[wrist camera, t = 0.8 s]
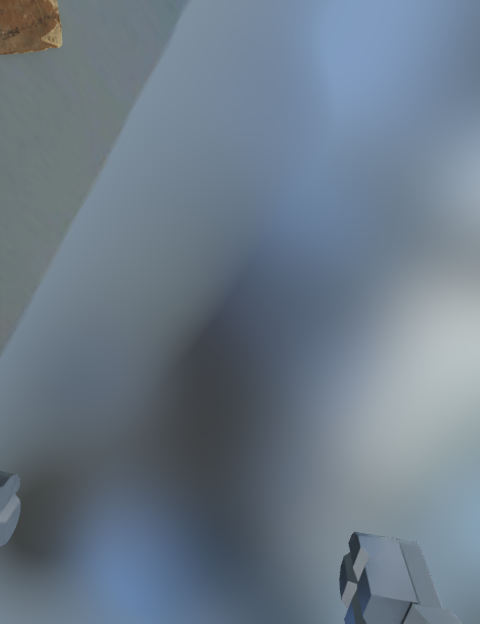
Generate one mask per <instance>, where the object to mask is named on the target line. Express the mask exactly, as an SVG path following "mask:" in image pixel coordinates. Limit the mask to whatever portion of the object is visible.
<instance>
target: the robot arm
mask: <svg viewBox="0 0 480 624" xmlns="http://www.w3.org/2000/svg"><path fill="white" fill-rule="evenodd" d="M19 487H20V484H19V476H18V475H16V474H12V473H6V472H2V471H0V546H2V545H4V544H5V543H7V542H8V540H9V538H10V537H11V535H12V533H13V532H14V529H15V527H16V524H17V522H18V519H19V514H20V500H19V499H18V497H17V496H16V495H15V493H16V491H17V490H18V489H19ZM349 548H350V553H348V554H347V555H345V556H344V557H343V561H342V564H341V569H340V578H339V583H340V594H341V600H342V601H343V603H344V604H345V605H346V606H347V608H348V610H347V613H346V616H345V618H344V621H345V624H463V623H462V622H461V621H460V620H459V619H458V618H457V617H456V616H455V615H454V614H453V613H452V612H451V611H450V610H448V609H443V606H442V604H441V601H440V598H439V596H438V593H437V590H436V588H435V585H434V582H433V580H432V577H431V574H430V572H429V569H428V566H427V564H426V561H425V558H424V555H423V553H422V550H421V547H420V545H419V544H418V543H417V542H414V541H407V540H401V539H394V538H389V537H383V536H377V535H371V534H365V533H358V532H354V533H353V534H352V535H351V538H350V541H349Z"/></svg>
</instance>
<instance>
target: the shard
mask: <svg viewBox="0 0 480 624" xmlns="http://www.w3.org/2000/svg"><path fill="white" fill-rule="evenodd" d="M61 31H62V28H61V23H60V16H59V12H58V5H57V0H0V54H14V53H28V52H37V51H43V50H46V49H47V48H59V47H60V46H61V45H62V34H61Z"/></svg>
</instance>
